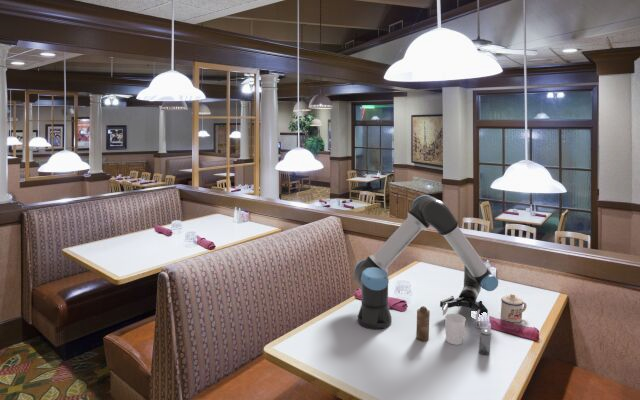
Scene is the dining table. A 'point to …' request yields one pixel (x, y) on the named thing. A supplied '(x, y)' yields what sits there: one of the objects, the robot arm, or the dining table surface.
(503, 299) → the teacup with lid
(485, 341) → the salt shaker
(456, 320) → the white cup
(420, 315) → the pepper mill
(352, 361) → the dining table surface
